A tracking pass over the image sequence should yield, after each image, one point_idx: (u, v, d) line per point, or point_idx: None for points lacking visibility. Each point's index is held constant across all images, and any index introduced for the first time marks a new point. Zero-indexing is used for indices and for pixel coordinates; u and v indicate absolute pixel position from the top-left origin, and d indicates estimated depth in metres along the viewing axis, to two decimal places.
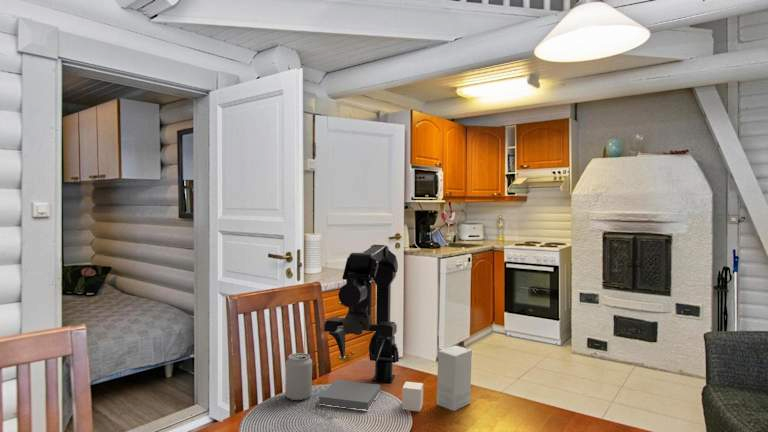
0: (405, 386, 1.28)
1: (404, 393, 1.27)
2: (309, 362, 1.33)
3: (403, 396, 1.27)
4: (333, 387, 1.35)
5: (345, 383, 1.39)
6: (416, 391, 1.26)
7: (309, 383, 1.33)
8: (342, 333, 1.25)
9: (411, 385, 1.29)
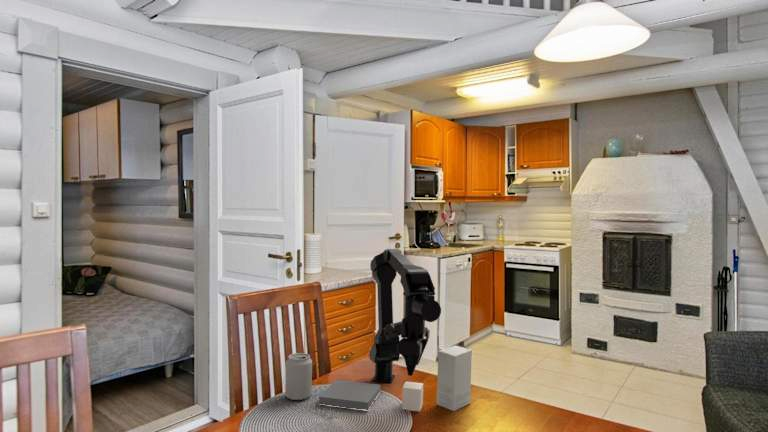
0: (405, 386, 1.28)
1: (404, 393, 1.27)
2: (309, 362, 1.33)
3: (403, 396, 1.27)
4: (333, 387, 1.35)
5: (345, 383, 1.39)
6: (416, 390, 1.26)
7: (309, 383, 1.33)
8: None
9: (411, 385, 1.29)
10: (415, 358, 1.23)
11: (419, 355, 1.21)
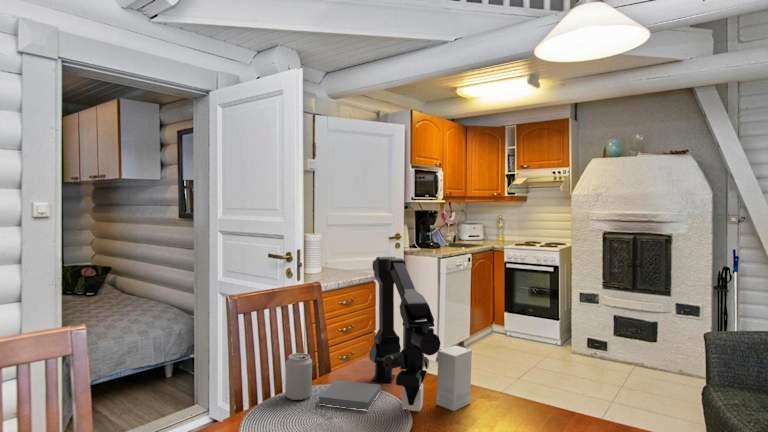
0: None
1: (404, 393, 1.27)
2: (309, 362, 1.33)
3: (403, 396, 1.27)
4: (333, 387, 1.35)
5: (345, 383, 1.39)
6: None
7: (309, 383, 1.33)
8: None
9: None
10: (416, 388, 1.24)
11: (419, 386, 1.23)
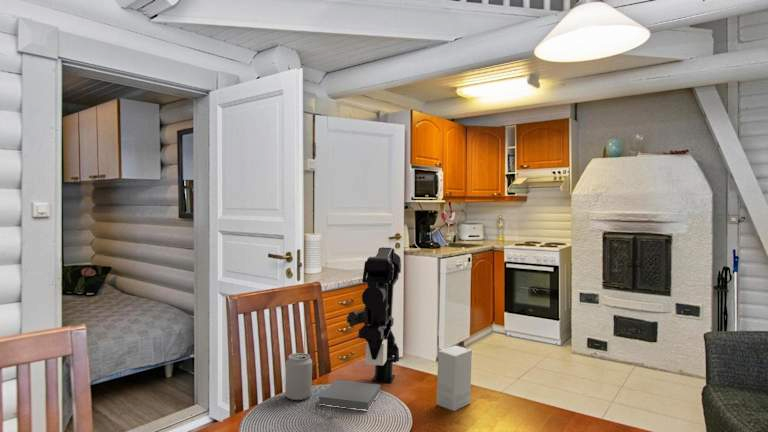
0: None
1: (368, 348, 1.30)
2: (309, 362, 1.33)
3: (367, 351, 1.30)
4: (333, 387, 1.35)
5: (345, 383, 1.39)
6: None
7: (309, 383, 1.33)
8: None
9: None
10: (378, 342, 1.27)
11: (382, 339, 1.25)
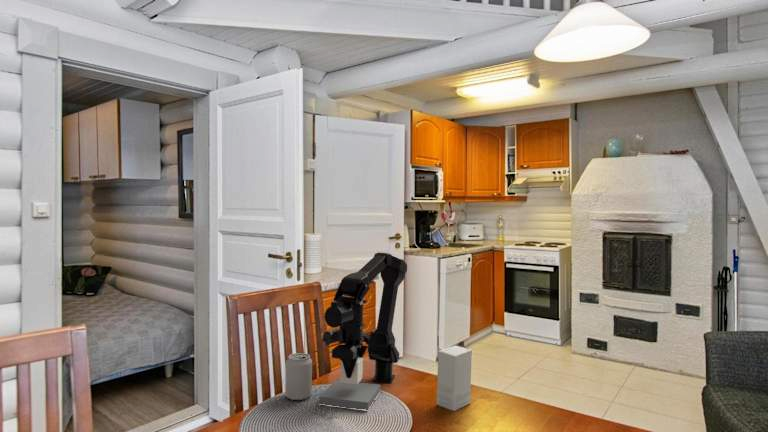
0: None
1: (343, 367, 1.31)
2: (309, 362, 1.33)
3: (341, 369, 1.32)
4: (333, 387, 1.35)
5: (345, 383, 1.39)
6: None
7: (309, 383, 1.33)
8: (356, 350, 1.36)
9: None
10: (352, 361, 1.29)
11: (355, 359, 1.27)
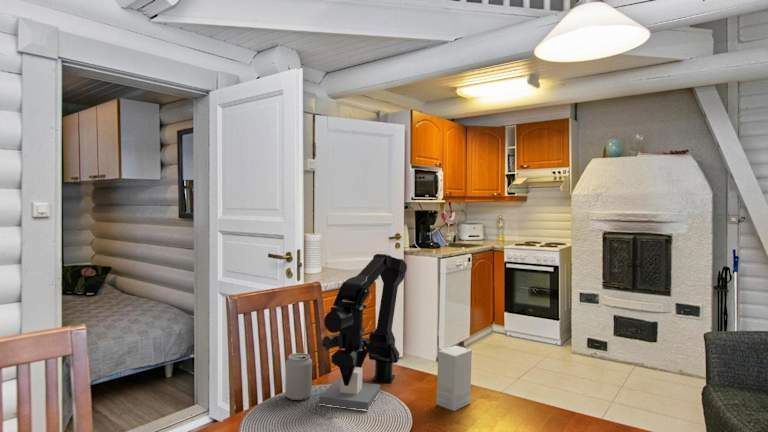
0: None
1: None
2: (309, 362, 1.33)
3: (341, 379, 1.31)
4: (333, 387, 1.35)
5: None
6: (353, 374, 1.31)
7: (309, 383, 1.33)
8: (358, 353, 1.38)
9: None
10: (350, 369, 1.27)
11: (353, 366, 1.25)
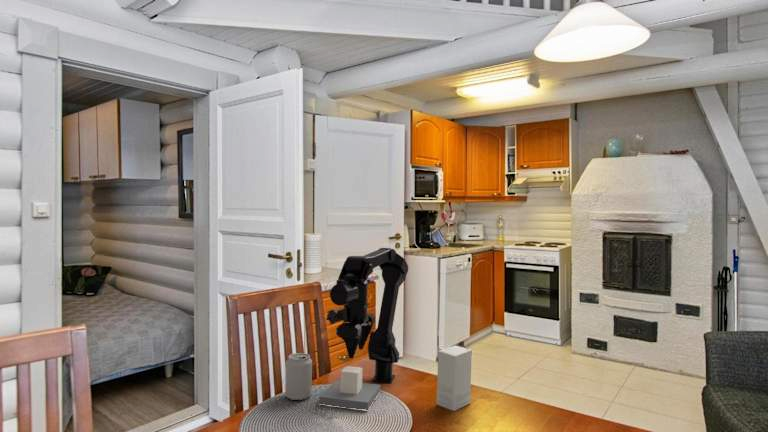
0: (344, 370, 1.32)
1: (342, 377, 1.31)
2: (309, 362, 1.33)
3: (341, 379, 1.31)
4: (333, 387, 1.35)
5: None
6: (353, 374, 1.31)
7: (309, 383, 1.33)
8: (362, 328, 1.39)
9: (350, 369, 1.33)
10: (355, 341, 1.28)
11: (358, 338, 1.26)
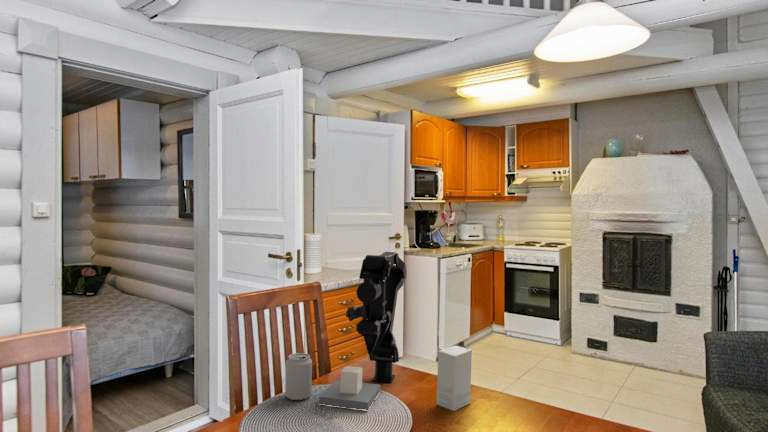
0: (344, 370, 1.32)
1: (342, 377, 1.31)
2: (309, 362, 1.33)
3: (341, 379, 1.31)
4: (333, 387, 1.35)
5: None
6: (353, 374, 1.31)
7: (309, 383, 1.33)
8: (380, 325, 1.43)
9: (350, 369, 1.33)
10: (374, 338, 1.32)
11: (377, 334, 1.30)
